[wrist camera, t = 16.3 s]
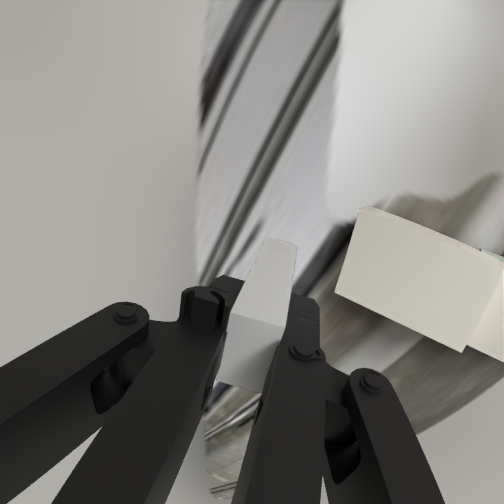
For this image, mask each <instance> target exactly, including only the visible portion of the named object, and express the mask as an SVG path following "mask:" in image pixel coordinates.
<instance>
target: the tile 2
mask: <svg viewBox="0 0 504 504" xmlns="http://www.w3.org/2000/svg"><path fill="white" fill-rule="evenodd" d="M500 263H501V265H502V267H503V271H502V274H501V276H500V278H499V281H498V283H497V285H496V288H495V290H494V292H493V294H492V296H491V299H490V301H489V303H488V305H487V307H486V309H485V311H484V313H483V315H482V317H481V319H480V321H479V323H478V325H477V327H476V328H475V330H474V332H473V334H472V336H471V338H470V339H469V341H468V343H467V345H468V346H470V347H472V348H474V349H477V350H479V351H481V352H483V353H485V354H487V355H489V356H491V357H494V358H496V359H498V360H500V361H502V362H504V263H502V262H500Z"/></svg>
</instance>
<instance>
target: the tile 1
mask: <svg viewBox="0 0 504 504" xmlns="http://www.w3.org/2000/svg"><path fill="white" fill-rule="evenodd" d="M502 271H503V267H502V265H501V263H500V261H499V260H498V259H496V258H494V257H492V256H490V255H488V254H486V253H484V252H482V251H479V250H477V249H475V248H473V247H471V246H468V245H466V244H464V243H462V242H459V241H457V240H455V239H453V238H450V237H448V236H446V235H443V234H441V233H438V232H436V231H434V230H431V229H429V228H426V227H424V226H421V225H419V224H416V223H414V222H411V221H409V220H406V219H404V218H401V217H399V216H396V215H393V214H391V213H388V212H385V211H383V210H380V209H377V208H374V207H372V206H367V207H363V208H360V209H359V213H358V216H357V220H356V223H355V227H354V230H353V234H352V237H351V241H350V244H349V247H348V251H347V254H346V257H345V260H344V264H343V267H342V270H341V273H340V276H339V279H338V282H337V285H336V288H335V291H334V292H335V293H337V294H339V295H341V296H343V297H345V298H347V299H349V300H352V301H354V302H356V303H358V304H360V305H362V306H364V307H366V308H368V309H370V310H372V311H375V312H377V313H379V314H381V315H383V316H385V317H387V318H389V319H391V320H393V321H396V322H398V323H400V324H402V325H404V326H406V327H408V328H410V329H412V330H414V331H417V332H419V333H421V334H423V335H425V336H427V337H429V338H431V339H433V340H435V341H438V342H440V343H442V344H444V345H446V346H448V347H450V348H452V349H454V350H456V351H459V352H461V353H462V351H463V350H464V348H465V346H466V345H467V343H468V341H469V339H470V338H471V336H472V334H473V332H474V330H475V328H476V327H477V325H478V323H479V321H480V319H481V317H482V315H483V313H484V311H485V309H486V307H487V305H488V303H489V301H490V299H491V296H492V294H493V292H494V290H495V288H496V285H497V283H498V281H499V278H500V276H501V274H502Z"/></svg>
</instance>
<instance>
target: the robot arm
mask: <svg viewBox="0 0 504 504" xmlns="http://www.w3.org/2000/svg"><path fill="white" fill-rule="evenodd" d="M297 249H298V245H295V244H291V243H287V242H284V241H280V240H276V239H273V238H269V237H266V238H265V240H264V242H263V245H262V247H261V249H260V251H259V253H258V255H257V257H256V259H255V261H254V264H253V266H252V268H251V270H250V272H249V274H248V276H247V278H246V280H245V281H242V280H239V279H235V278H232V277H228V276H225V275H222V276H220V277H218V278H216V279H214V280H213V281H212V283H211V284H210V286H209V287H204V286H194V287H191V288H187V289H186V290H184V291H183V292H182V295H181V304H180V315H179V318H178V319H177V321H174V322H162V321H154V320H149V314H148V312H147V310H146V309H144V308H143V307H142V306H141V305H138V304H136V303H131V302H117V303H114V304H112V305H109V306H107V307H106V308H104V309H102V310H100V311H99V312H97V313H95V314H93V315H91V316H89V317H88V318H86V319H84V320H83V321H81V322H79V323H77V324H75V325H73V326H72V327H70V328H68V329H67V330H65V331H63V332H61V333H59V334H58V335H56V336H54V337H52V338H50V339H49V340H47V341H45V342H43V343H42V344H40V345H38V346H37V347H35V348H33V349H31V350H30V351H28V352H26V353H24V354H23V355H21V356H19V357H17V358H16V359H14V360H12V361H11V362H9V363H7V364H6V365H4V366H2V367H0V504H7V503H8V502H9V501H11V500H12V499H13V498H14V497H16V496H17V495H18V494H20V493H21V492H22V491H24V490H25V489H26V488H27V487H29V486H30V485H31V484H32V483H34V482H35V481H36V480H37V479H39V478H40V477H41V476H43V475H44V474H45V473H46V472H47V471H49V470H50V469H51V468H52V467H54V466H55V465H56V464H57V463H59V462H60V461H61V460H62V459H63V458H65V457H66V456H67V455H68V454H70V453H71V452H72V451H73V450H74V449H76V448H77V447H78V446H79V445H80V444H82V443H83V442H84V441H85V440H86V439H88V438H89V437H90V436H91V435H92V434H94V433H95V432H96V431H97V430H98V429H99V428H101V427H102V428H101V429H100V431H99V432H98V434H97V435H96V437H95V438H94V440H93V441H92V443H91V444H90V446H89V447H88V449H87V450H86V452H85V453H84V455H83V456H82V458H81V459H80V461H79V462H78V464H77V465H76V467H75V468H74V470H73V471H72V473H71V474H70V476H69V477H68V479H67V480H66V482H65V484H64V485H63V486H62V488H61V490H60V491H59V493H58V494H57V496H56V497H55V499H54V500H53V502H52V504H165V502H166V500H167V497H168V495H169V493H170V491H171V488H172V486H173V484H174V481H175V479H176V477H177V474H178V472H179V470H180V467H181V465H182V463H183V460H184V458H185V455H186V453H187V450H188V448H189V446H190V443H191V441H192V439H193V436H194V434H195V431H196V429H197V427H198V424H199V422H200V419H201V417H202V415H203V412H204V410H205V407H206V405H207V403H208V400H209V398H210V395H211V393H212V388H213V384H214V380H215V378H216V380H217V381H220V382H223V383H226V384H230V385H233V386H236V387H240V388H243V389H247V390H251V391H254V392H258V393H262V395H261V398H260V401H259V403H258V406H257V408H256V411H255V413H254V416H253V420H254V422H253V426H252V430H251V433H250V437H249V441H248V445H247V449H246V452H245V456H244V460H243V463H242V467H241V471H240V474H239V478H238V481H237V485H236V488H235V492H234V495H233V499H232V502H231V504H320V498H321V486H322V473H323V478H324V483H325V487H326V492H327V497H328V502H329V504H445V502H444V500H443V497H442V495H441V492H440V490H439V487H438V485H437V483H436V480H435V478H434V475H433V473H432V471H431V468H430V466H429V464H428V462H427V459H426V457H425V455H424V452H423V450H422V448H421V446H420V444H419V441H418V439H417V437H416V435H415V432H414V430H413V428H412V426H411V424H410V422H409V420H408V417H407V415H406V413H405V411H404V409H403V407H402V405H401V403H400V401H399V399H398V397H397V395H396V393H395V391H394V389H393V387H392V385H391V383H390V382H389V380H388V379H387V378H386V377H385V376H384V375H382V374H381V373H379V372H377V371H375V370H373V369H368V368H360V369H356V370H355V371H353V372H352V373H351V375H350V376H349V375H347V374H345V373H343V372H340V371H338V370H336V369H335V368H333V367H331V366H330V365H329V364H328V363H326V358H325V354H324V352H323V351H322V349H321V348H320V324H319V323H320V317H319V316H320V309H319V306H318V304H317V303H316V301H315V300H314V299H311V298H308V297H304V296H300V295H297V294H293V293H291V289H292V283H293V276H294V269H295V263H296V256H297ZM216 376H217V377H216Z"/></svg>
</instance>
